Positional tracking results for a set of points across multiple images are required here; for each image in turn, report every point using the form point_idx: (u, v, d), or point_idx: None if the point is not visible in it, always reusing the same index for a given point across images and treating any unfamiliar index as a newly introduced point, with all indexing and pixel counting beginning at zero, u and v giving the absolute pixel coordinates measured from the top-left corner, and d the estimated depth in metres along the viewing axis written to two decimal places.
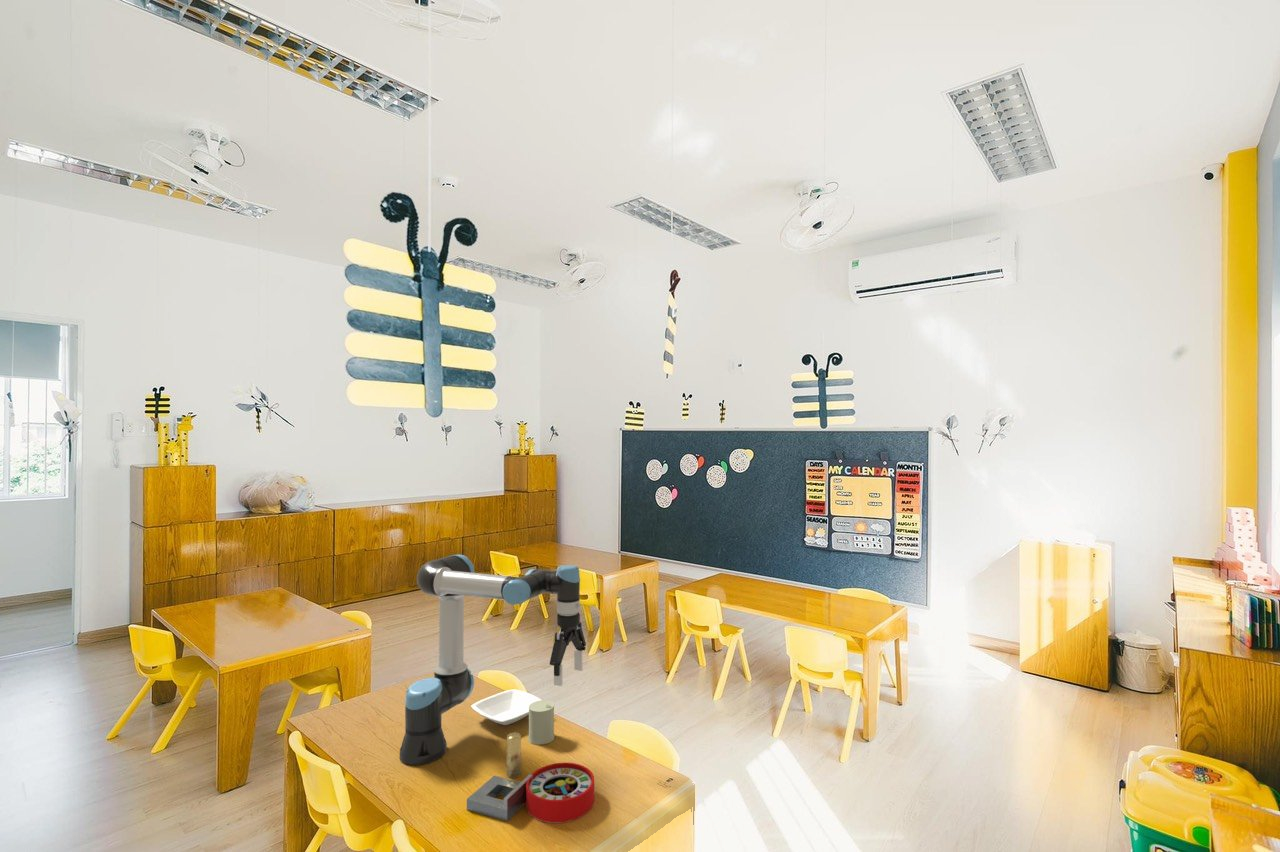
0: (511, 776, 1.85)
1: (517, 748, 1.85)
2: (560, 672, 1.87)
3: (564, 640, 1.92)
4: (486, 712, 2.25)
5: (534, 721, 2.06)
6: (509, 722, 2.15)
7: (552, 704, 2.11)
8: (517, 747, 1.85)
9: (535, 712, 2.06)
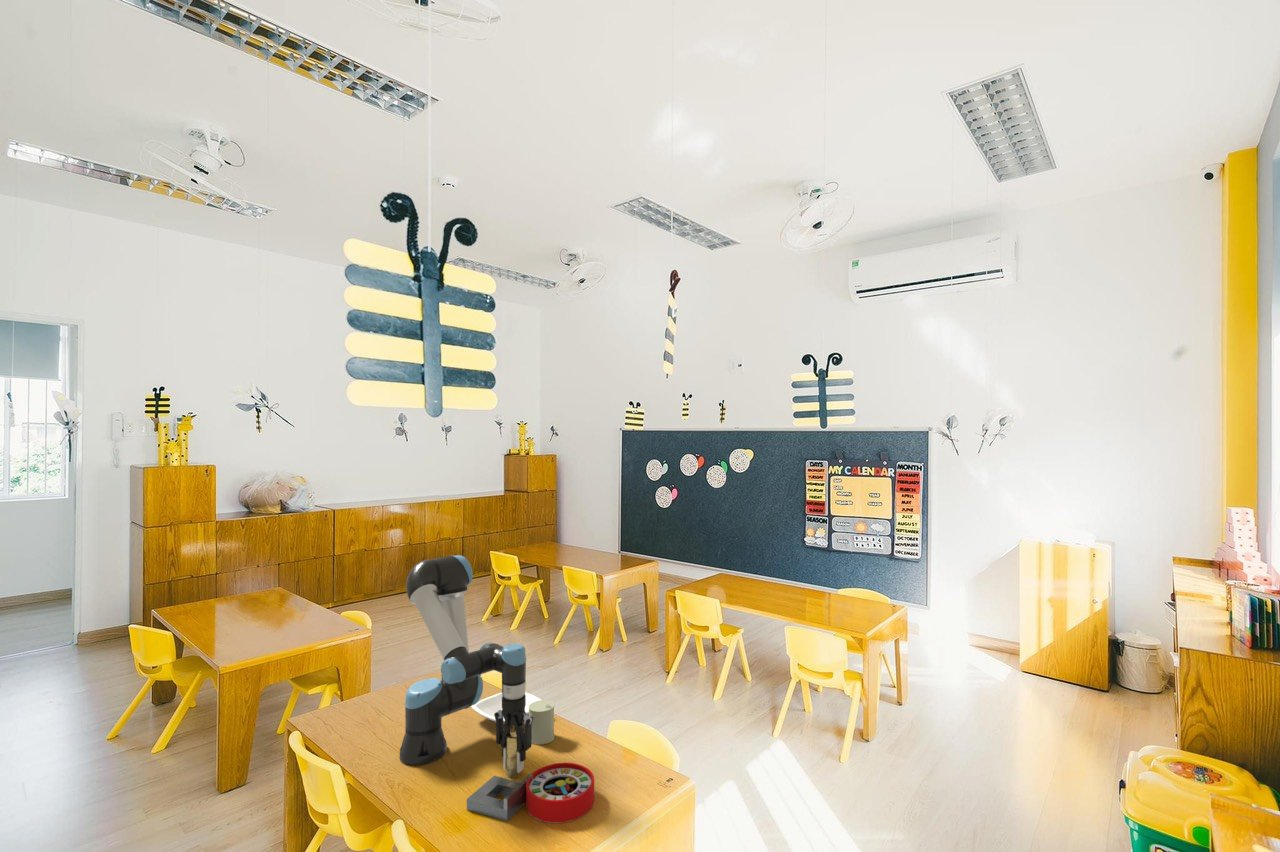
0: (511, 776, 1.85)
1: (517, 748, 1.85)
2: None
3: None
4: (486, 712, 2.25)
5: (534, 721, 2.06)
6: None
7: (552, 704, 2.11)
8: (517, 747, 1.85)
9: (535, 712, 2.06)
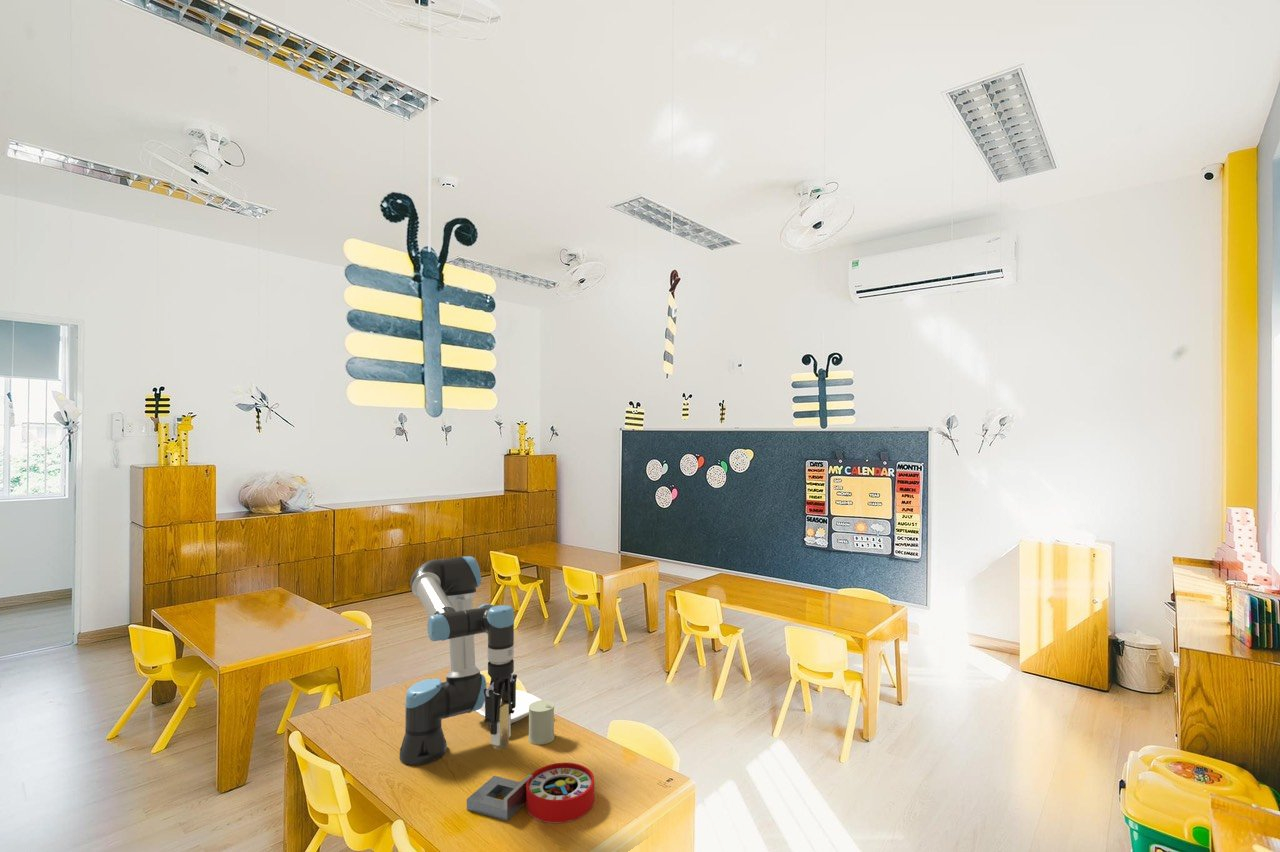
0: (508, 744, 1.72)
1: None
2: (497, 730, 1.70)
3: None
4: None
5: (534, 721, 2.06)
6: None
7: (552, 704, 2.11)
8: None
9: (535, 712, 2.06)
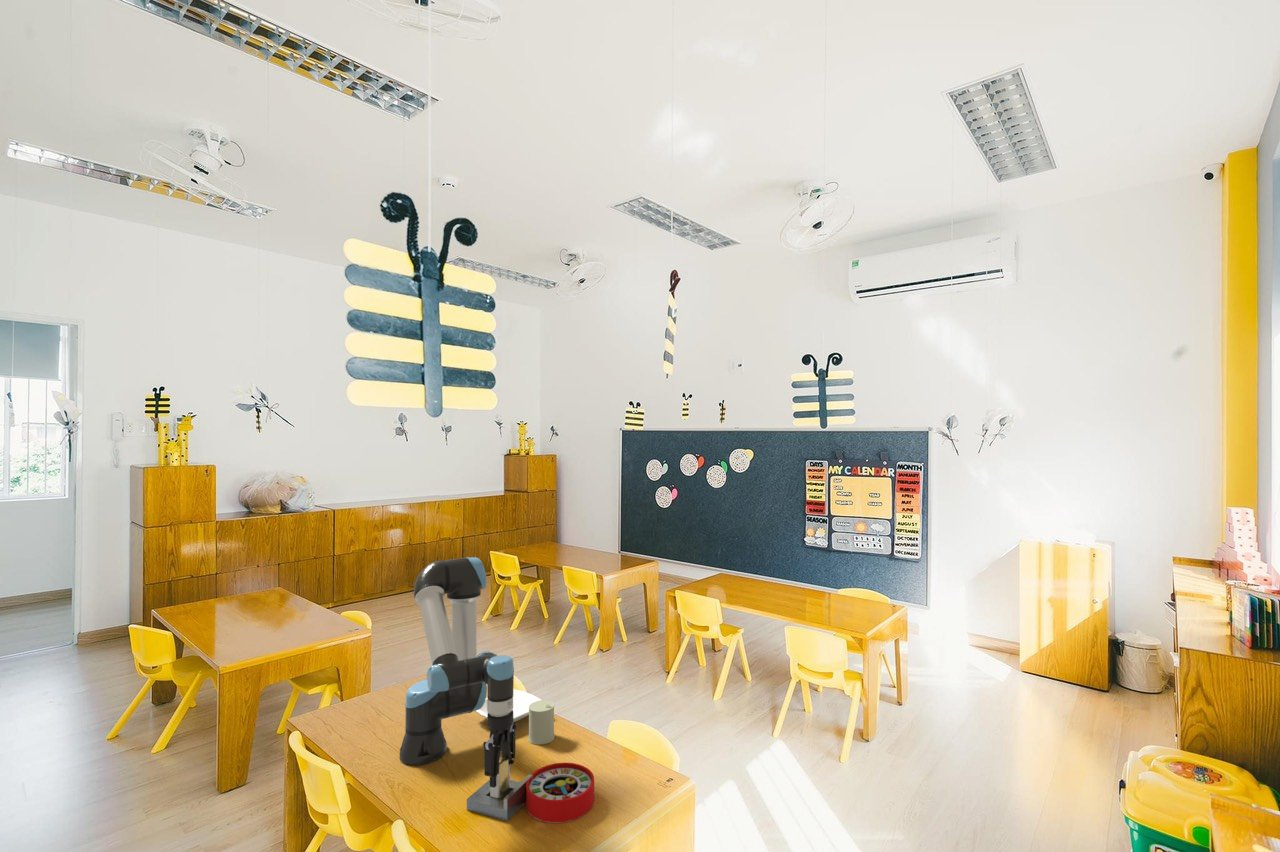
0: None
1: None
2: (497, 783, 1.69)
3: None
4: (486, 712, 2.25)
5: (535, 721, 2.06)
6: None
7: (552, 704, 2.11)
8: None
9: (535, 712, 2.06)
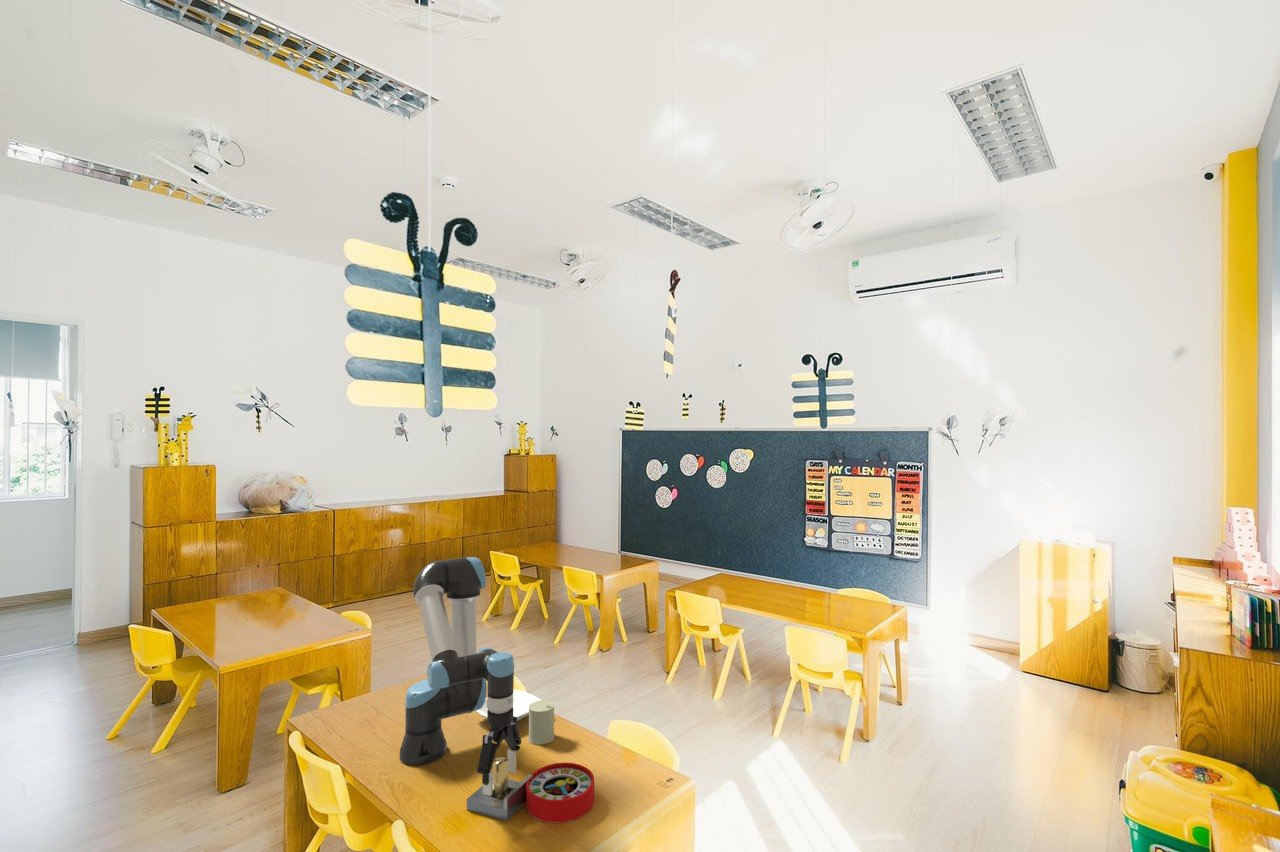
0: None
1: None
2: (489, 780, 1.66)
3: (495, 740, 1.70)
4: (486, 712, 2.25)
5: (535, 721, 2.06)
6: None
7: (552, 704, 2.11)
8: None
9: (535, 712, 2.06)
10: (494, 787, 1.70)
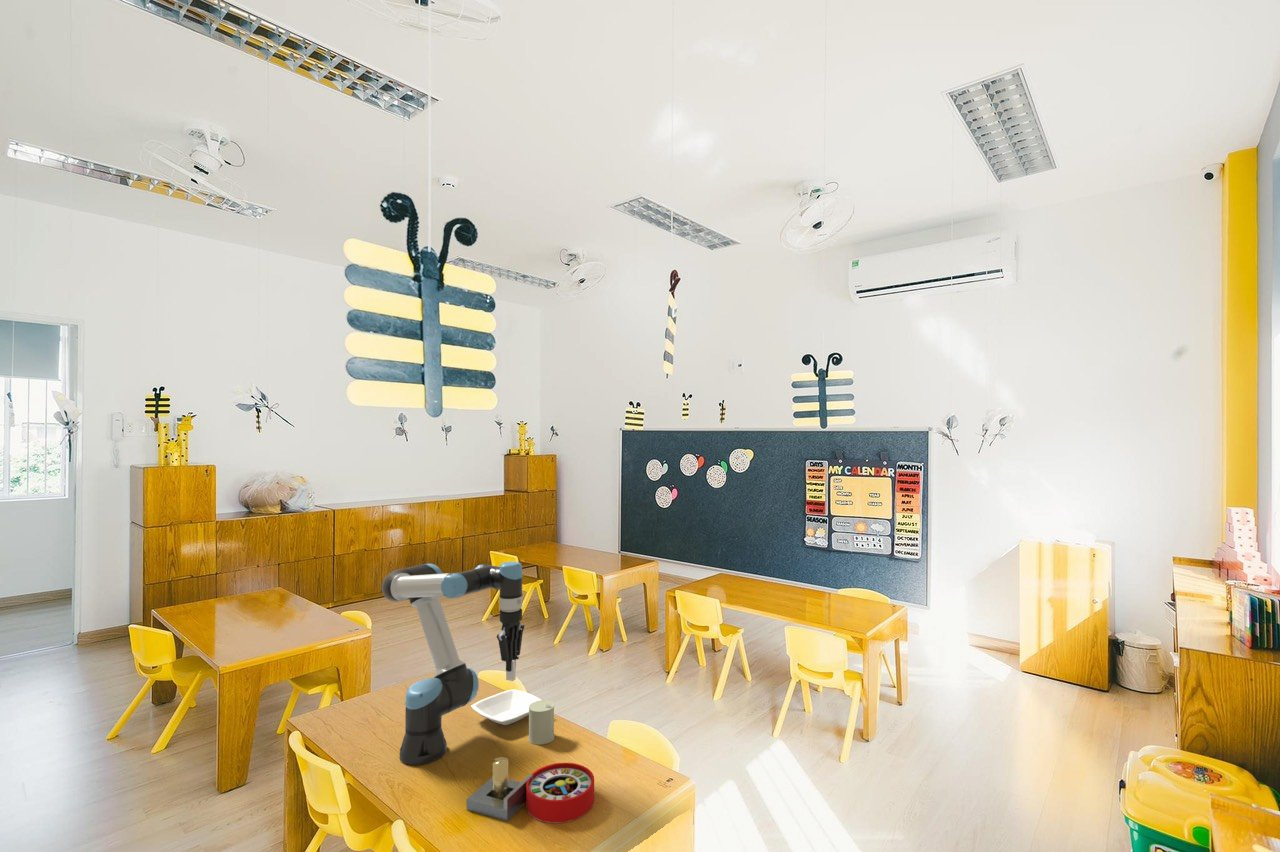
0: None
1: None
2: (512, 668, 1.96)
3: None
4: (486, 712, 2.25)
5: (534, 721, 2.06)
6: (509, 722, 2.15)
7: (552, 704, 2.11)
8: None
9: (535, 712, 2.06)
10: (494, 787, 1.70)
